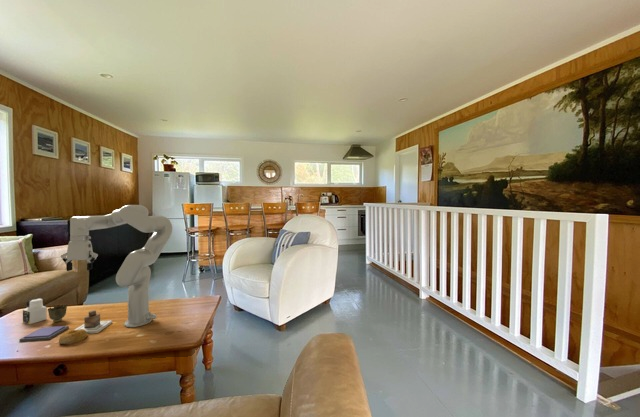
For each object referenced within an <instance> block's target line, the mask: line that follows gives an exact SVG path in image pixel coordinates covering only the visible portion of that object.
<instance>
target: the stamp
mask: <svg viewBox="0 0 640 417" xmlns="http://www.w3.org/2000/svg"><path fill="white" fill-rule="evenodd" d="M100 321H101V313H97V310H90V311H88V315H87V316H84V321H83V324H84V328H95V327H96V326H98V325H99V324H100Z"/></svg>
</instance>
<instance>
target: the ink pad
mask: <svg viewBox="0 0 640 417" xmlns="http://www.w3.org/2000/svg"><path fill="white" fill-rule="evenodd" d="M68 329H69V325H62V326H61V325H60V326H46V327H45V326H44V327H39V328H38V329H36V330H34V331H32V332H31V333H28V334H27V335H25V336H23V337H21V338H20V339H19V342H20V343H21V342H23V343H24V342H37V341H38V342H39V341H50V340H51V339H53V338H55V337H57V336H58V335H60V334H63V332H65V331H67V330H68Z"/></svg>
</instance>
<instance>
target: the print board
mask: <svg viewBox="0 0 640 417" xmlns="http://www.w3.org/2000/svg"><path fill="white" fill-rule="evenodd" d="M112 323H113V320H111V319H110V320H100V324H99V325H98V326H96V327H95V328H84V323H82V325H80V326H78V327H76V328H75V329H74V330H80V329H83V330H85V331H87V333H88V335H89V334H98V333H99V332H101V331H102V330H104V329H105V328H107V327H108V326H109V325H111V324H112Z"/></svg>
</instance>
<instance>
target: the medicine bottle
mask: <svg viewBox="0 0 640 417" xmlns="http://www.w3.org/2000/svg"><path fill="white" fill-rule="evenodd" d="M47 314H48V307H47V306H44V300H43V298H41V297H36V298H35V297H34V298H31V299H29V300H27V301H26V308H23V309H22V323H25V324H27V325H32V324H36V323H38V322H43V321H46V320H47V319H48V315H47Z"/></svg>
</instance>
